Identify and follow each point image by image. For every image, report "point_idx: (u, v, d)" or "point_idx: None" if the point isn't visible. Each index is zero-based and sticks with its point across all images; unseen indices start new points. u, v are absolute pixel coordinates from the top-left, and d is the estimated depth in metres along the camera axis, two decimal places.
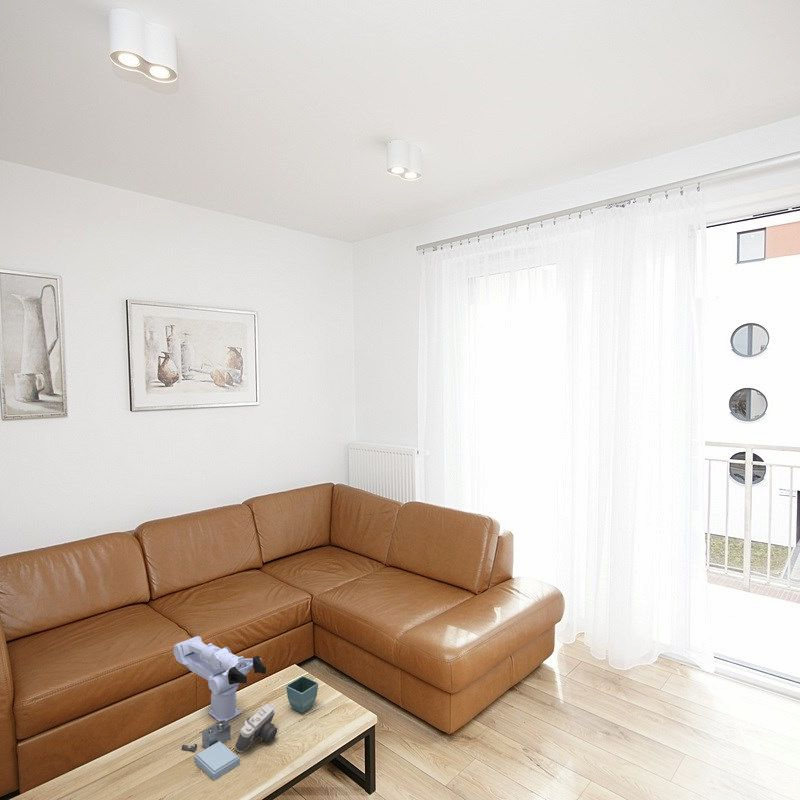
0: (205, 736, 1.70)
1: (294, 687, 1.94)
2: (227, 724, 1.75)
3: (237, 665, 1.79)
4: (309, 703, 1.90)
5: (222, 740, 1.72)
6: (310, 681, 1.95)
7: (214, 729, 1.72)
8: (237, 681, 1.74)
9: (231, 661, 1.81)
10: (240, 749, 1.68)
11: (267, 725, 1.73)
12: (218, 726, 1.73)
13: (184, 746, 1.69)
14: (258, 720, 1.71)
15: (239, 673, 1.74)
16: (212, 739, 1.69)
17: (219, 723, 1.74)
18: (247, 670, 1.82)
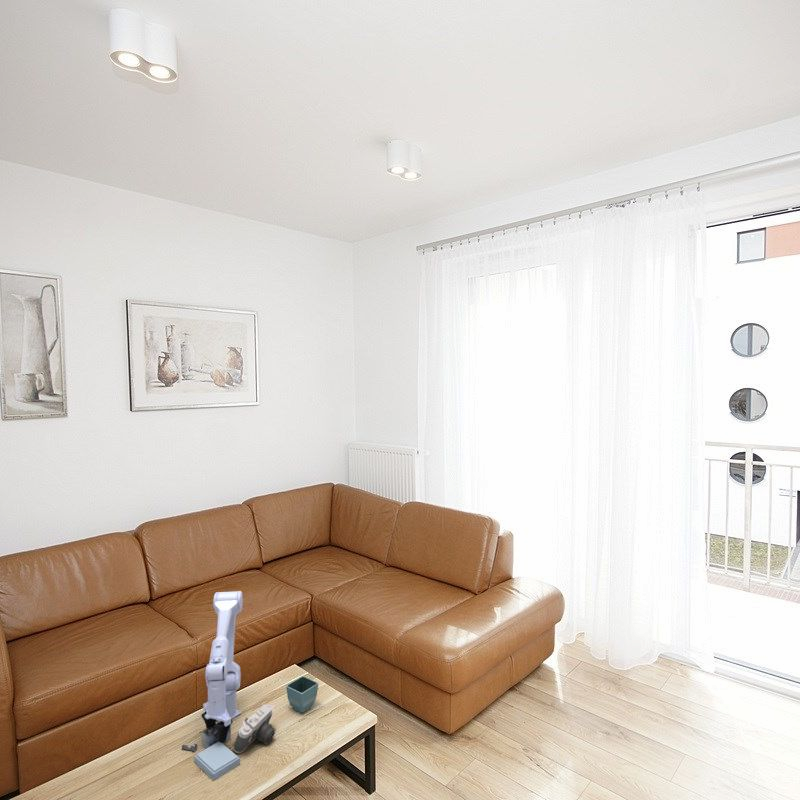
0: (204, 736, 1.70)
1: (294, 687, 1.94)
2: None
3: None
4: (309, 703, 1.90)
5: None
6: (310, 681, 1.95)
7: (214, 729, 1.72)
8: None
9: None
10: (238, 750, 1.67)
11: (265, 726, 1.73)
12: None
13: (184, 746, 1.69)
14: (256, 721, 1.70)
15: (206, 726, 1.74)
16: (211, 739, 1.69)
17: None
18: None
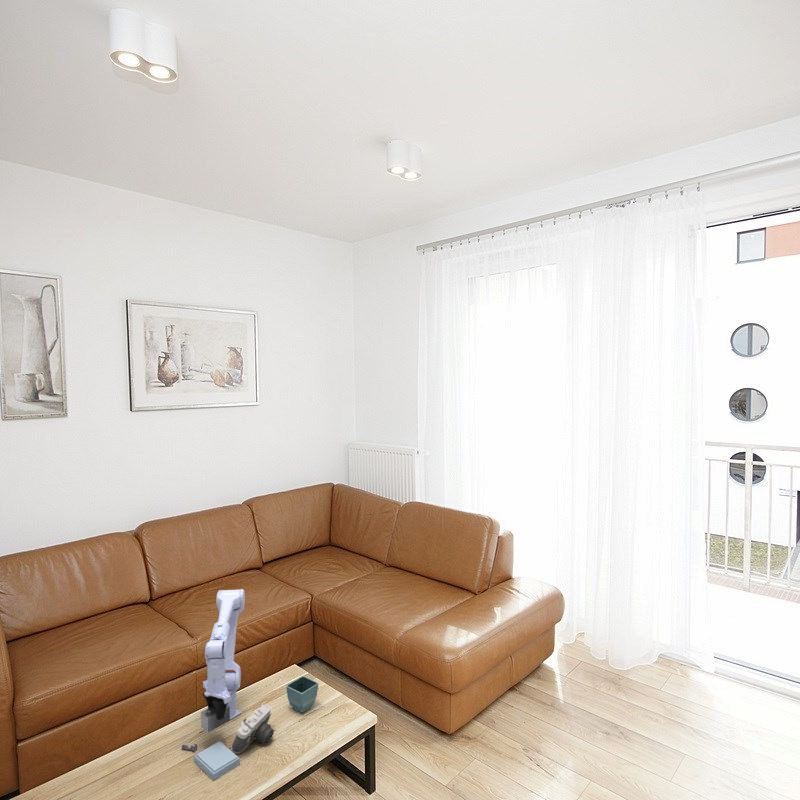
0: (204, 716, 1.69)
1: (294, 687, 1.94)
2: None
3: None
4: (309, 703, 1.90)
5: (221, 721, 1.72)
6: (310, 681, 1.95)
7: (213, 710, 1.72)
8: None
9: None
10: (237, 750, 1.67)
11: (264, 726, 1.73)
12: None
13: (184, 746, 1.69)
14: (254, 721, 1.70)
15: (207, 705, 1.73)
16: (210, 720, 1.69)
17: None
18: None
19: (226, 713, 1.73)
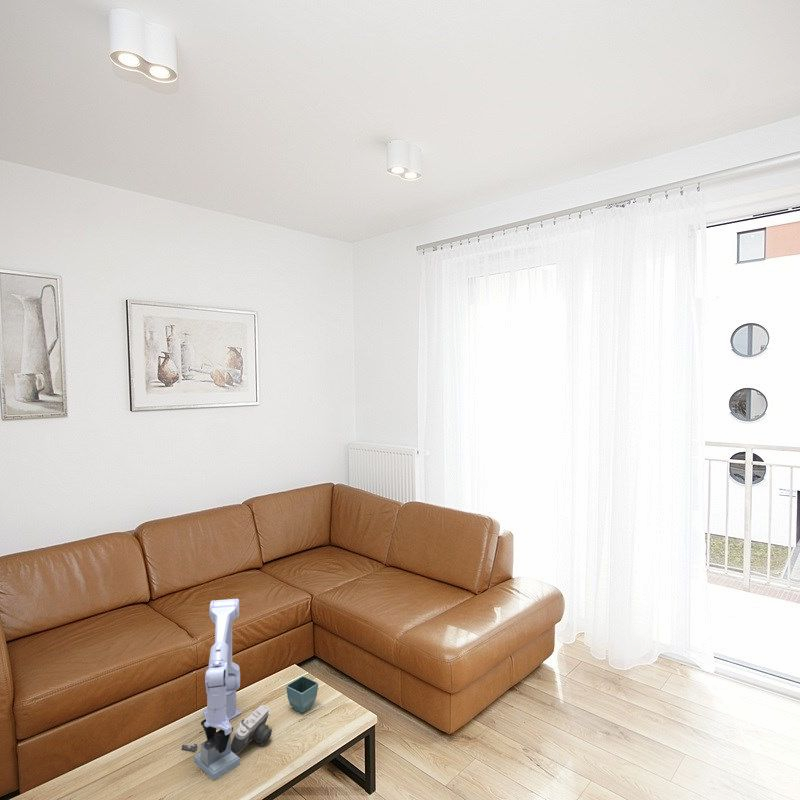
0: (203, 749, 1.60)
1: (294, 687, 1.94)
2: None
3: None
4: (309, 703, 1.90)
5: (222, 754, 1.62)
6: (310, 681, 1.95)
7: (213, 742, 1.62)
8: (213, 727, 1.67)
9: None
10: (235, 751, 1.67)
11: (262, 727, 1.72)
12: None
13: (184, 746, 1.69)
14: (252, 722, 1.70)
15: (206, 734, 1.64)
16: (210, 753, 1.59)
17: None
18: None
19: (227, 745, 1.63)
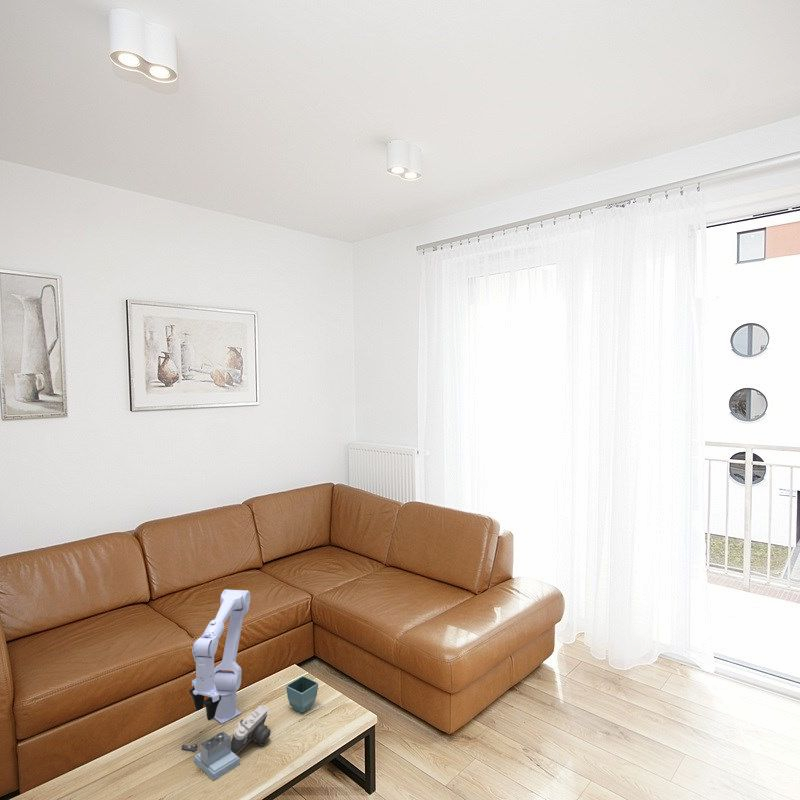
0: (203, 749, 1.60)
1: (294, 687, 1.94)
2: (227, 736, 1.65)
3: None
4: (309, 703, 1.90)
5: (222, 754, 1.62)
6: (310, 681, 1.95)
7: (213, 742, 1.62)
8: None
9: None
10: (233, 752, 1.66)
11: (260, 727, 1.72)
12: (217, 738, 1.63)
13: (184, 746, 1.69)
14: (251, 722, 1.69)
15: (194, 702, 1.73)
16: (210, 753, 1.59)
17: (218, 735, 1.64)
18: None
19: (227, 745, 1.63)
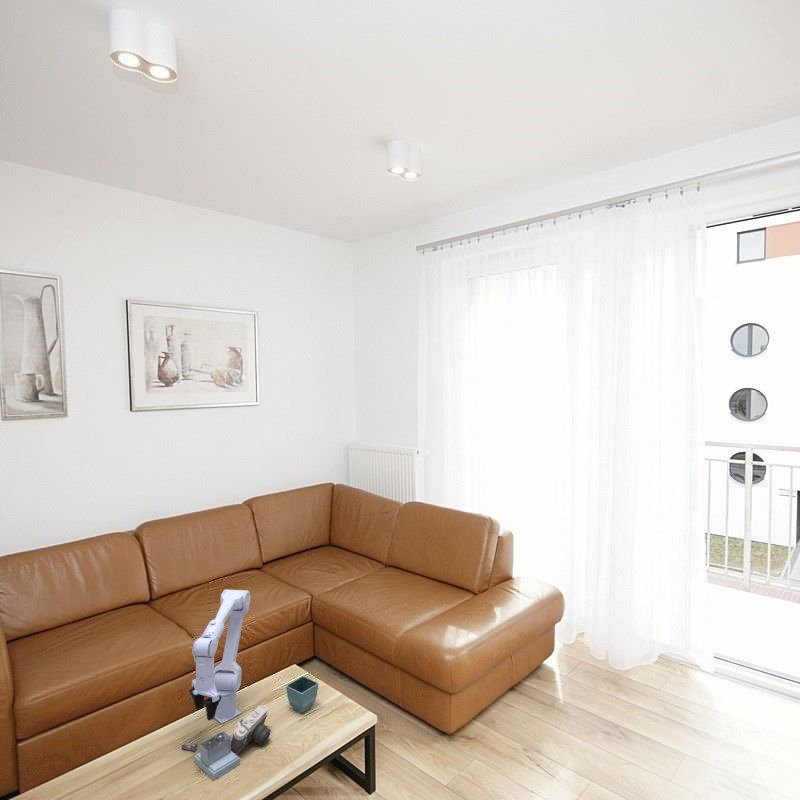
0: (203, 749, 1.60)
1: (294, 687, 1.94)
2: (227, 736, 1.65)
3: None
4: (309, 703, 1.90)
5: (222, 754, 1.62)
6: (310, 681, 1.95)
7: (213, 742, 1.62)
8: None
9: None
10: (233, 752, 1.66)
11: (260, 727, 1.72)
12: (217, 738, 1.63)
13: (184, 745, 1.69)
14: (251, 722, 1.70)
15: (194, 702, 1.73)
16: (210, 753, 1.59)
17: (218, 735, 1.64)
18: None
19: (227, 745, 1.63)
